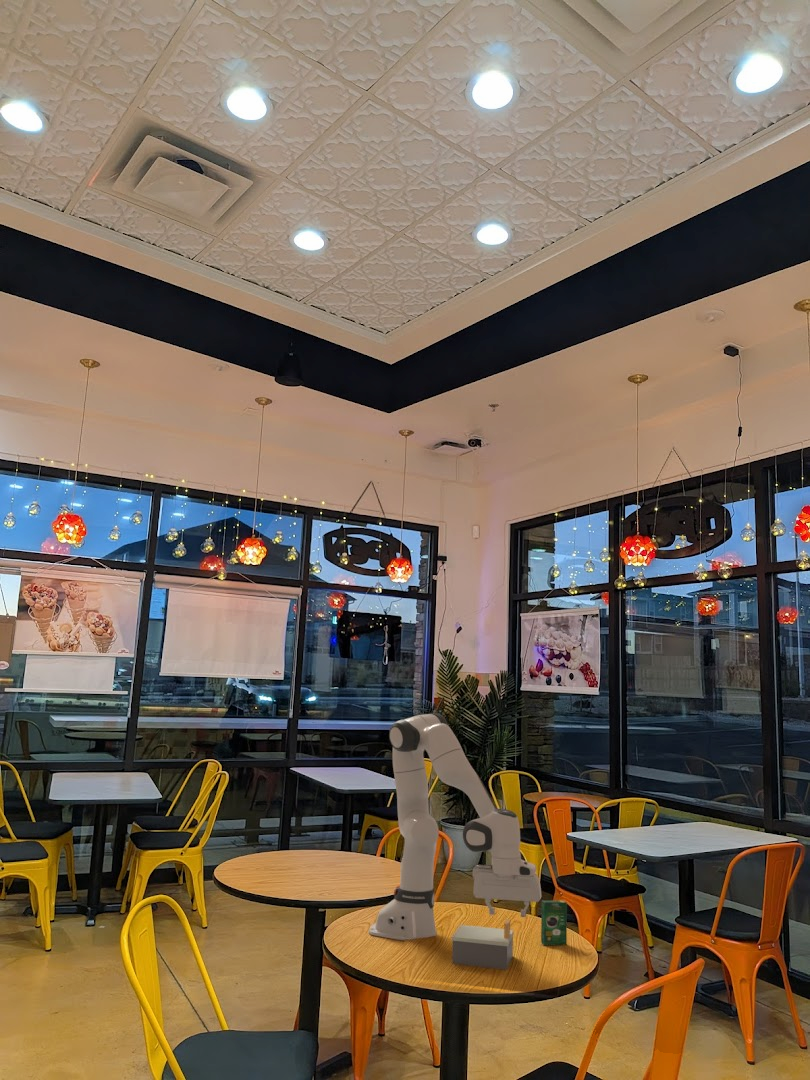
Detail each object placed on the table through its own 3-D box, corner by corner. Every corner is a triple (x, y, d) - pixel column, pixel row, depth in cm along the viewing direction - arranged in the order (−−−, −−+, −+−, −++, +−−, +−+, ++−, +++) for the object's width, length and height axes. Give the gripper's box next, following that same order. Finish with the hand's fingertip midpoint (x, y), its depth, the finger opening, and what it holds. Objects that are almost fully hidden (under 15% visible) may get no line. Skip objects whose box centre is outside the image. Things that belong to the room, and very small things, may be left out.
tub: (452, 966, 225) (452, 940, 227) (460, 953, 238) (461, 928, 239) (507, 972, 221) (507, 946, 223) (512, 958, 234) (512, 933, 235)
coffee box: (564, 942, 251) (563, 899, 254) (567, 945, 249) (567, 901, 251) (540, 943, 250) (540, 899, 252) (544, 946, 247) (543, 902, 250)
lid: (451, 943, 226) (452, 922, 228) (460, 931, 239) (460, 910, 240) (507, 949, 222) (507, 927, 223) (513, 936, 235) (513, 916, 236)
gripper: (470, 866, 233) (471, 915, 230) (538, 870, 227) (540, 920, 224) (474, 862, 239) (475, 910, 236) (541, 865, 233) (542, 915, 230)
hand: (507, 915), depth 230 cm, fingers open, 8 cm apart
